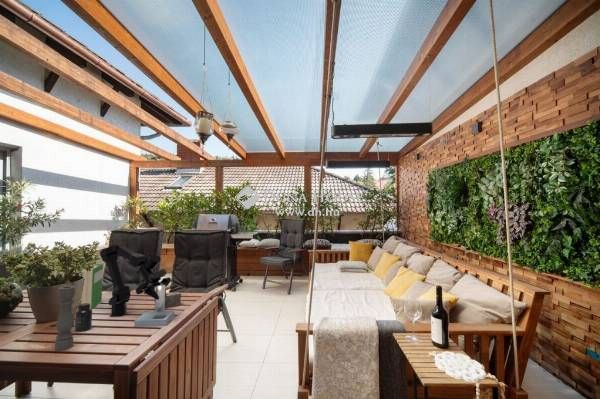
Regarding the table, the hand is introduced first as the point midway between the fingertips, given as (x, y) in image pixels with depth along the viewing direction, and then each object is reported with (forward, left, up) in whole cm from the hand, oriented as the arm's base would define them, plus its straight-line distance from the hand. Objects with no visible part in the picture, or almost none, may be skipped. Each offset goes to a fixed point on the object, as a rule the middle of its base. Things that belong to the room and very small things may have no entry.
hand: (162, 298), depth 155 cm
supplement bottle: (-35, -4, -13) cm, 38 cm away
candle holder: (-31, -25, -13) cm, 42 cm away
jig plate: (-4, +4, -13) cm, 14 cm away
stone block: (-5, +29, -13) cm, 32 cm away
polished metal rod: (-1, +1, -7) cm, 7 cm away
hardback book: (-53, +37, -13) cm, 66 cm away
